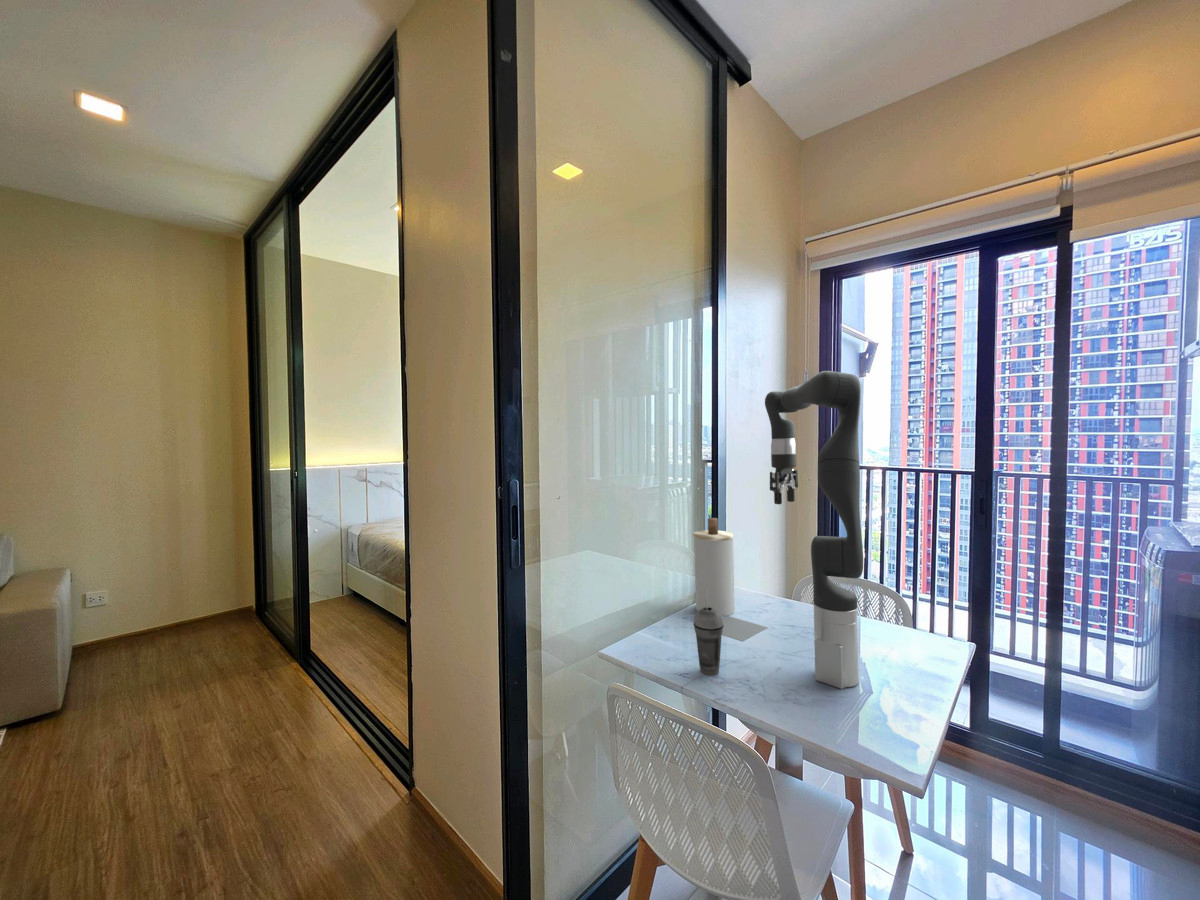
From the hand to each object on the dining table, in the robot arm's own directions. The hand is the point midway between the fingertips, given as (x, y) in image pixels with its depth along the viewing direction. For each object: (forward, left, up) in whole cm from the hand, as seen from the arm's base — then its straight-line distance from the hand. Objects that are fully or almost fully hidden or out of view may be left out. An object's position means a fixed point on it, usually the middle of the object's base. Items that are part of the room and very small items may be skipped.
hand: (784, 502), depth 154 cm
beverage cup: (-50, -5, -36) cm, 62 cm away
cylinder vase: (-14, +18, -36) cm, 43 cm away
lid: (-14, +18, -11) cm, 25 cm away
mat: (-23, +5, -36) cm, 43 cm away
